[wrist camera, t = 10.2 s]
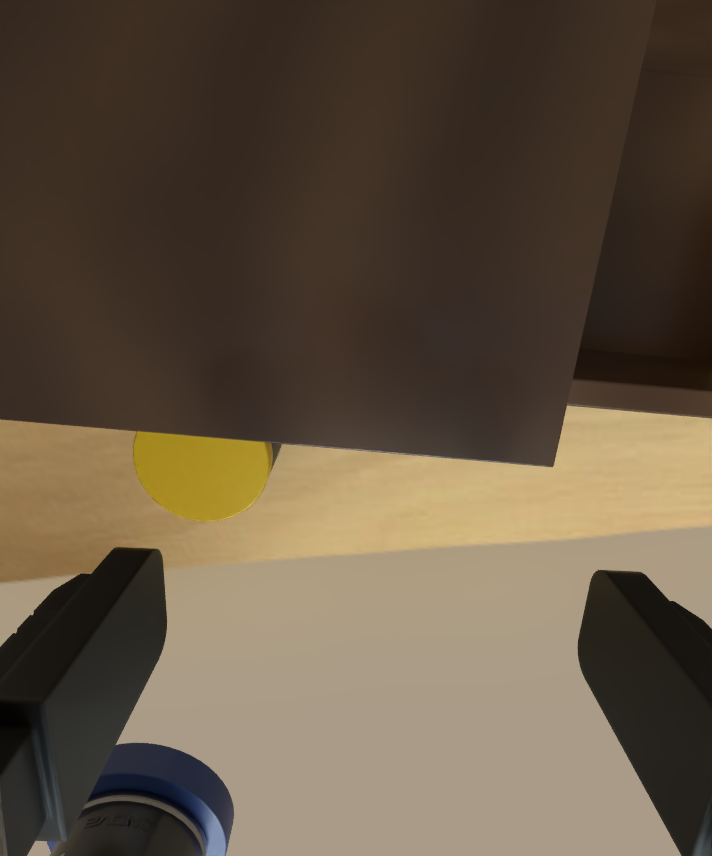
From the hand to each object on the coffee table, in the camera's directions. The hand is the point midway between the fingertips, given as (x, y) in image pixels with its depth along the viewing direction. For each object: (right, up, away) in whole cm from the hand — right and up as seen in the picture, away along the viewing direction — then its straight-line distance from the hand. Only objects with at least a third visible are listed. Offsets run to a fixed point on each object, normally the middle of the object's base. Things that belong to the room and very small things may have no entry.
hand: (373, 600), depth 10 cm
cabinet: (-2, +12, +11) cm, 17 cm away
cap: (-6, +3, +14) cm, 16 cm away
